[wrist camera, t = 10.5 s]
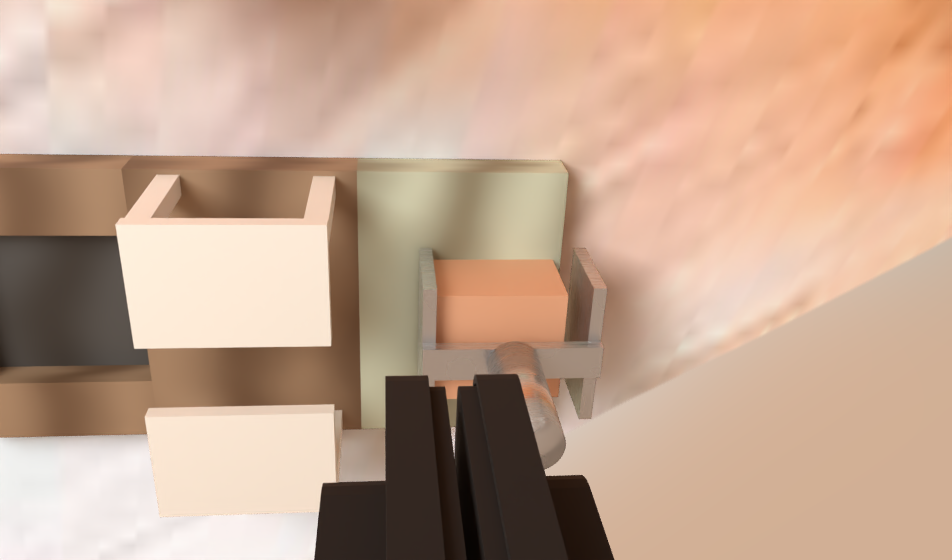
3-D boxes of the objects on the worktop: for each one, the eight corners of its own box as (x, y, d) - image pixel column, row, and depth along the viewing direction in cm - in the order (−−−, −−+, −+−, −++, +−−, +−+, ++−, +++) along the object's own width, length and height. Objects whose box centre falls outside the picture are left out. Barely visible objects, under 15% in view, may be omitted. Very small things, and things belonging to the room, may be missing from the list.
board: (560, 160, 42) (568, 173, 40) (538, 404, 48) (544, 424, 46) (-83, 153, 39) (-105, 166, 37) (-17, 415, 45) (-33, 438, 43)
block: (552, 259, 42) (568, 295, 39) (543, 354, 44) (558, 396, 41) (432, 259, 41) (437, 296, 38) (430, 356, 44) (434, 399, 40)
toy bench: (335, 172, 39) (326, 225, 33) (342, 428, 45) (336, 511, 39) (155, 170, 38) (115, 224, 32) (188, 432, 44) (159, 517, 39)
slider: (585, 248, 42) (650, 367, 32) (572, 369, 45) (627, 513, 35) (419, 248, 41) (431, 371, 31) (417, 371, 44) (428, 520, 34)
